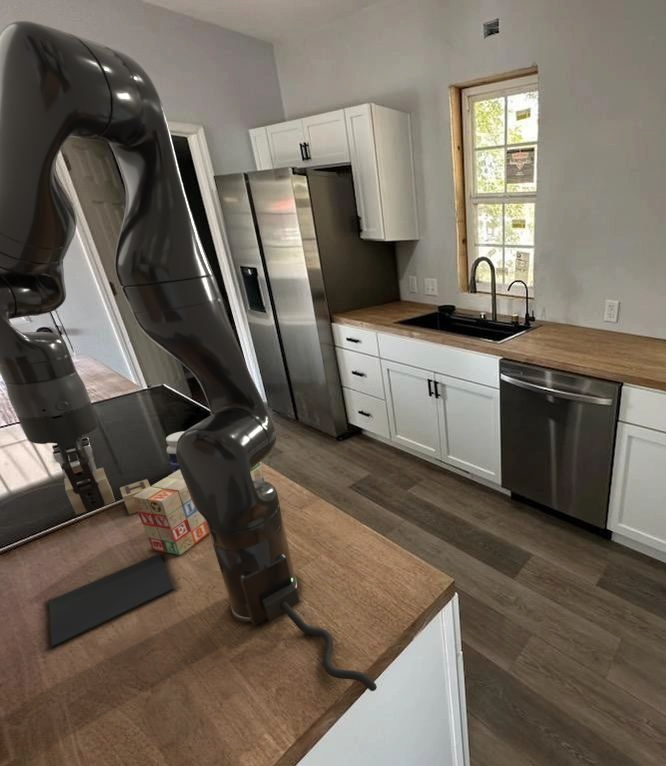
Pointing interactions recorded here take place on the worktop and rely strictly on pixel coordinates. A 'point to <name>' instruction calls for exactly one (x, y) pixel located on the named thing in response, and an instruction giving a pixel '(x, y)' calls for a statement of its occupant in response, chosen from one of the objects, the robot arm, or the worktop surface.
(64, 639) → the word mat
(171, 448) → the pill bottle
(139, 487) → the tile
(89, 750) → the worktop surface
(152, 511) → the stack of blocks
